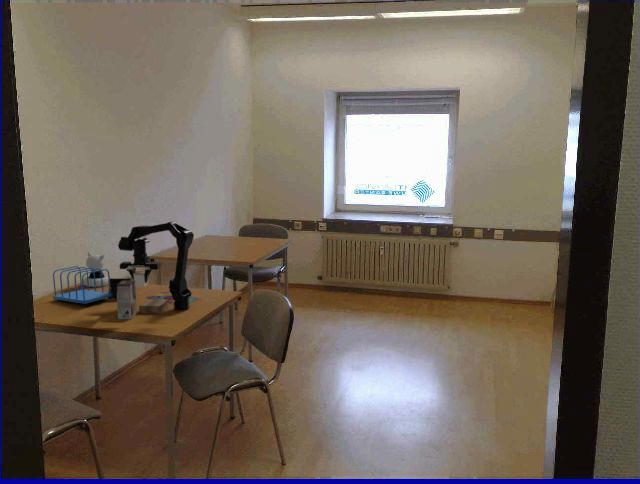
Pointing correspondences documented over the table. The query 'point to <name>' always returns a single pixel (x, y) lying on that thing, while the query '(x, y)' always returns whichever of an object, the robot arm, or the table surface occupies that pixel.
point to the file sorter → (81, 295)
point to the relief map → (169, 297)
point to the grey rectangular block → (114, 287)
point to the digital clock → (129, 278)
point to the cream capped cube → (140, 278)
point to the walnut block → (153, 306)
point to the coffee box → (126, 299)
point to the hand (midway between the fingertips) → (140, 282)
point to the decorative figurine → (94, 263)
